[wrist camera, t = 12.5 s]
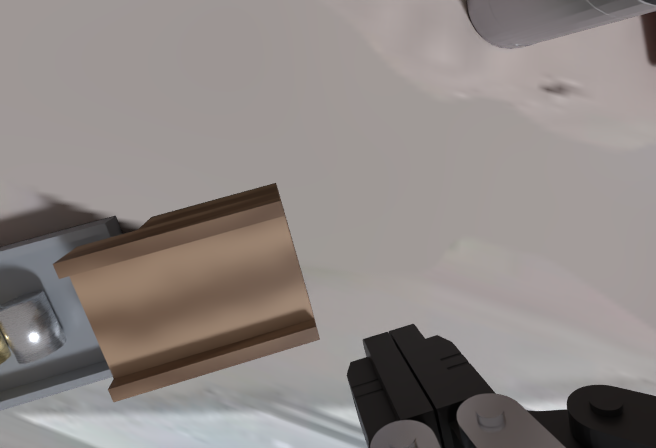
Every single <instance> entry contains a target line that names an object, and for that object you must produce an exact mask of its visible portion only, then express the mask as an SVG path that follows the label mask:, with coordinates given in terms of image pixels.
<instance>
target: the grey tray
mask: <svg viewBox="0 0 656 448" xmlns="http://www.w3.org/2000/svg"><path fill="white" fill-rule="evenodd" d="M121 234H123V233H122V231H121V228H120V226H119V223H118V220H117V218H116V216H113V217H109V218H105V219H102V220H98V221H94V222H91V223H87V224H83V225H80V226H76V227H72V228H69V229H65V230H61V231H58V232H54V233H50V234H47V235H43V236H39V237H36V238H32V239H28V240H24V241H21V242H17V243H13V244H10V245H6V246H2V247H0V305H2V304H4V303H6V302H8V301H10V300H12V299H14V298H17V297H19V296H22V295H25V294H28V293H31V292H35V291H44V293H45V295H46V297H47V299H48V302H49V304H50V306H51V308H52V310H53V312H54V314H55V316H56V318H57V320H58V322H59V325H60V327H61V329H62V331H63V333H64V335H65V337H66V339H67V341H66V343H65V344H64V345H63V346H62V347H61V348H59V349H58V350H57V351H55V352H53V353H52V354H50V355H48V356H46V357H44V358H42V359H39V360H37V361H34V362H31V363H27V364H19V363H18V362H17V360H16V358H15V356H14V354H13V352H12V350H11V348H10V346H9V344H8V343H7V341H6V339H5V337H4V335H3V333H2V331H1V329H0V332H1V334H2V336H3V338H4V340H5V342H6V344H7V346H8V348H9V350H10V352H11V356H10V357H9V358H8V359H7V360H6V361H5V362H3V363H2V364H0V410H4V409H7V408H10V407H14V406H17V405H20V404H24V403H27V402H30V401H34V400H37V399H40V398H44V397H47V396H50V395H54V394H57V393H60V392H64V391H67V390H70V389H74V388H77V387H80V386H84V385H87V384H90V383H94V382H97V381H100V380H104V379H107V378H110V377H113V376H112V373H111V371H110V369H109V366H108V364H107V362H106V359H105V357H104V355H103V353H102V350H101V348H100V346H99V343H98V341H97V339H96V336H95V334H94V332H93V330H92V327H91V325H90V323H89V320H88V318H87V316H86V313H85V311H84V309H83V307H82V304H81V302H80V300H79V297H78V295H77V293H76V290H75V288H74V286H73V284H72V281H71V279H70V277H69V276H68V277H65V278H61V279H59V278H58V275H57V273H56V271H55V269H54V266H53V263H55V262H56V261H58V260H59V259H60V258H62V257H63V256H65V255H66V254H67V253H69V252H70V251H72V250H73V249H74V248H76V247H78V246H81V245H85V244H89V243H92V242H96V241H100V240H103V239H107V238H110V237H114V236H118V235H121Z"/></svg>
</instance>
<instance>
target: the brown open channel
mask: <svg viewBox="0 0 656 448" xmlns="http://www.w3.org/2000/svg"><path fill="white" fill-rule="evenodd" d="M53 266H54V269H55V271H56V273H57V275H58V278H59V279H61V278H65V277H68V276H69V277H70V279H71V281H72V284H73V286H74V288H75V290H76V293H77V295H78V297H79V300H80V302H81V304H82V307H83V309H84V311H85V313H86V316H87V318H88V320H89V323H90V325H91V327H92V330H93V332H94V334H95V336H96V339H97V341H98V343H99V346H100V348H101V350H102V353H103V355H104V357H105V359H106V362H107V364H108V366H109V369H110V371H111V373H112V376H113V378H114V380H113V381H112V383H111V385H110V387H109V389H108V391H109V393H110V395H111V398H112V400H113V402H116V401H120V400H123V399H126V398H129V397H133V396H136V395H139V394H143V393H146V392H149V391H152V390H156V389H159V388H162V387H165V386H169V385H172V384H175V383H179V382H182V381H185V380H188V379H192V378H195V377H198V376H202V375H205V374H208V373H211V372H215V371H218V370H221V369H225V368H228V367H231V366H234V365H238V364H241V363H244V362H248V361H251V360H254V359H257V358H261V357H264V356H267V355H271V354H274V353H277V352H280V351H284V350H287V349H290V348H293V347H297V346H300V345H303V344H307V343H310V342H313V341H316V340H320V338H319V334H318V330H317V327H316V323H315V319H314V315H313V312H312V308H311V304H310V300H309V297H308V293H307V290H306V286H305V283H304V279H303V276H302V272H301V269H300V265H299V262H298V258H297V255H296V251H295V248H294V244H293V241H292V237H291V234H290V230H289V227H288V223H287V220H286V217H285V213H284V209H283V206H282V202H281V199H280V195H279V192H278V188H277V185H276V183H274V184H270V185H267V186H263V187H259V188H256V189H252V190H248V191H245V192H241V193H237V194H234V195H230V196H227V197H223V198H219V199H216V200H212V201H208V202H205V203H201V204H197V205H194V206H190V207H187V208H183V209H179V210H175V211H172V212H168V213H165V214H161V215H157V216H154V217H151V218H150V219H149V220H148V221H147V222H146V223H145V224H144V225H142V226H141V227H140V228H139V229H138V230H136V231H132V232H129V233H125V234H121V235H118V236H114V237H110V238H107V239H103V240H100V241H96V242H92V243H89V244H85V245H81V246H78V247H76V248H74V249H73V250H72V251H70V252H69V253H67V254H66V255H65V256H63V257H62V258H60V259H59V260H58V261H56V262H55V263H53Z"/></svg>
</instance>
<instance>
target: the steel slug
mask: <svg viewBox="0 0 656 448" xmlns="http://www.w3.org/2000/svg"><path fill="white" fill-rule="evenodd" d="M0 329H1V331H2V333H3V335H4V337H5V339H6V341H7V343H8V344H9V346H10V348H11V350H12V352H13V354H14V356H15V358H16V360H17V362H18V363H19V364H27V363H31V362H34V361H37V360H39V359H42V358H44V357H46V356H48V355H50V354H52V353H53V352H55V351H57V350H58V349H59V348H61V347H62V346H63V345H64V344H65V343H66V341H67V339H66V337H65V335H64V333H63V331H62V329H61V327H60V325H59V322H58V320H57V318H56V316H55V314H54V312H53V310H52V308H51V306H50V304H49V302H48V299H47V297H46V295H45V293H44V291H35V292H31V293H28V294H25V295H22V296H19V297H17V298H14V299H12V300H10V301H8V302H6V303H4V304H2V305H0Z"/></svg>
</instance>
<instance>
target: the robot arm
mask: <svg viewBox="0 0 656 448" xmlns="http://www.w3.org/2000/svg"><path fill="white" fill-rule="evenodd" d="M467 5H468V12H469V15H470V18H471V21H472V23H473V25H474V27H475V28H476V30H477V32H478V33H479V34H480V35H481V36H482V37H483V38H484V39H485V40H486V41H488V42H489V43H491V44H493V45H495V46H498V47H501V48H510V49H512V48H519V47H523V46H529V45H533V44H536V43H538V42H542V41H546V40H550V39H554V38H557V37H561V36H565V35H569V34H572V33H576V32H580V31H583V30H587V29H591V28H595V27H598V26H602V25H606V24H609V23H613V22H617V21H621V20H624V19H628V18H632V17H635V16H639V15H643V14H647V13H650V12H654V11H656V0H467ZM363 345H364V349H365V353H366V356H367V357H366V358H363V359H359V360H356V361H353V362H350V366H349V369H348V373H347V378H348V381H349V385H350V389H351V392H352V396H353V399H354V403H355V407H356V410H357V414H358V418H359V421H360V424H361V427H362V430H363V434H364V436H365V440H366V443H367V446H368V448H656V396H653V395H648V394H644V393H640V392H635V391H631V390H627V389H622V388H618V387H614V386H608V385H590V386H585V387H582V388H579V389H577V390H575V391H574V392H573V393H571V394H570V396H569V397H568V400H567V410H552V411H528V410H525V409H524V408H523V407H522V406H521V405H520V404H519V403H518V402H517V401H515V400H514V399H512V398H510V397H507V396H504V395H501V394H496V393H495V392H494V391H493V390H492V389H491V388H490V386H489V385H488V384H487V383H486V382H485V380H484V379H483V378H482V377H481V376H480V375H479V373H478V372H477V371H476V370H475V369H474V367H473V366H472V365H471V364H469V362H468V360H467V359H466V358H465V357H464V356H463V355H462V354H461V352H460V351H459V350H458V349H457V347H456V346H455V345H454V344H453V343H452V342H451V341H449V340H446V339H444V338H442V337H440V336H438V335H436V336H433V337H430V338H427V339H425V338H424V337H423V335H422V334H421V333H420V331H419V330H418V329H417V327H416V326H415V325H414V324H411V325H408V326H404V327H401V328H398V329H395V330H391V331H389V333H388V332H385V333H382V334H379V335H375V336H372V337H369V338H366V339H363Z"/></svg>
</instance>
